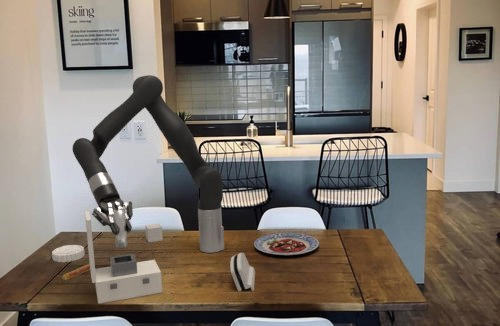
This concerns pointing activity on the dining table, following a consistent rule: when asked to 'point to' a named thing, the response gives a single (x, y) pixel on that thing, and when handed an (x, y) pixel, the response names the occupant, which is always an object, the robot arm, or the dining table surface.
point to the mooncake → (68, 253)
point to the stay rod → (120, 228)
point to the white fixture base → (122, 277)
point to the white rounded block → (242, 272)
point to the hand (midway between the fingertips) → (123, 232)
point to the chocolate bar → (76, 272)
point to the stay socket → (123, 265)
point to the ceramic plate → (286, 243)
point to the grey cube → (153, 232)
